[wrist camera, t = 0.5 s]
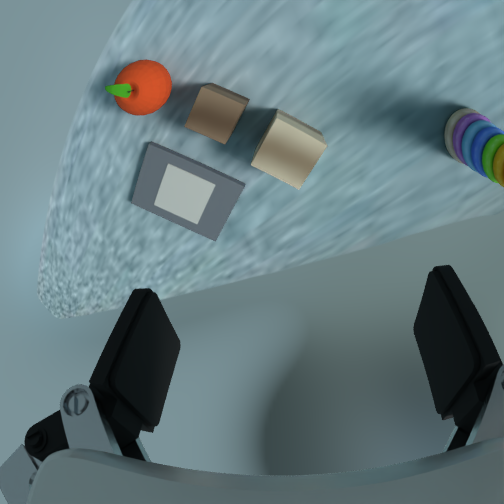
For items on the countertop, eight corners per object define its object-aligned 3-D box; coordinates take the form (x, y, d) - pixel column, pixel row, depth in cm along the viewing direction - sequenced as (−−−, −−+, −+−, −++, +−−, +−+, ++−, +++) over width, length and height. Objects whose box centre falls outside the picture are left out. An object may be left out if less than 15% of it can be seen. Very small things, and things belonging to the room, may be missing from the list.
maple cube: (277, 108, 33) (276, 118, 28) (321, 132, 34) (327, 145, 29) (255, 148, 36) (250, 165, 31) (297, 170, 37) (298, 189, 33)
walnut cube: (212, 82, 31) (201, 86, 27) (249, 99, 32) (244, 105, 28) (196, 117, 34) (184, 126, 30) (232, 133, 35) (224, 144, 31)
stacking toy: (439, 159, 33) (516, 236, 18) (443, 103, 28) (538, 154, 14) (481, 162, 32) (559, 235, 17) (487, 111, 27) (580, 165, 12)
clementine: (121, 106, 33) (92, 118, 28) (126, 57, 29) (96, 60, 24) (175, 112, 34) (153, 125, 28) (184, 61, 30) (162, 62, 24)
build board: (151, 141, 36) (148, 144, 36) (245, 183, 39) (244, 187, 38) (133, 199, 42) (130, 203, 41) (216, 237, 45) (215, 241, 44)
